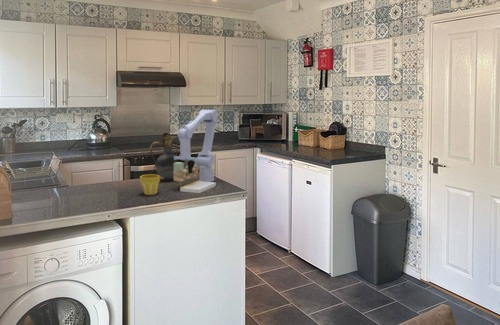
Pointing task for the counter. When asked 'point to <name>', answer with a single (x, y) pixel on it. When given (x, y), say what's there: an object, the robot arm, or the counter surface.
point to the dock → (197, 187)
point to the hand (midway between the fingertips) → (185, 173)
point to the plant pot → (150, 183)
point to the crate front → (179, 166)
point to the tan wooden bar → (185, 174)
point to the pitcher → (165, 158)
